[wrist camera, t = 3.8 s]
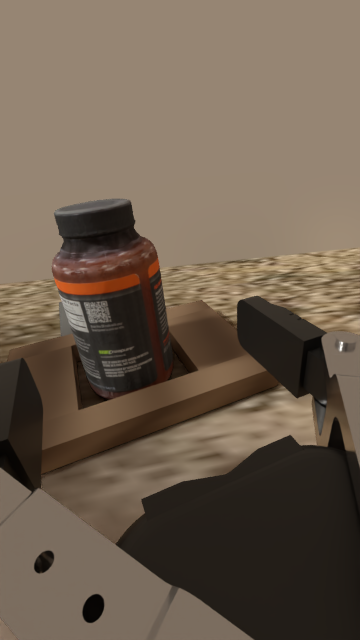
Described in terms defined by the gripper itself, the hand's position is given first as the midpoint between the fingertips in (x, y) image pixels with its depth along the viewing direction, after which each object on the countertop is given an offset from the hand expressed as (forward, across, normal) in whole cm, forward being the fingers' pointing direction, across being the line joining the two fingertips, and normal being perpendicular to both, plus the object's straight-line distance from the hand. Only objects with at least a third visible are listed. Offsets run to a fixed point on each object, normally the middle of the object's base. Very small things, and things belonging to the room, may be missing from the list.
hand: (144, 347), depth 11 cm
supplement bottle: (+8, 0, +7) cm, 11 cm away
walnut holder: (+8, 0, +7) cm, 10 cm away
